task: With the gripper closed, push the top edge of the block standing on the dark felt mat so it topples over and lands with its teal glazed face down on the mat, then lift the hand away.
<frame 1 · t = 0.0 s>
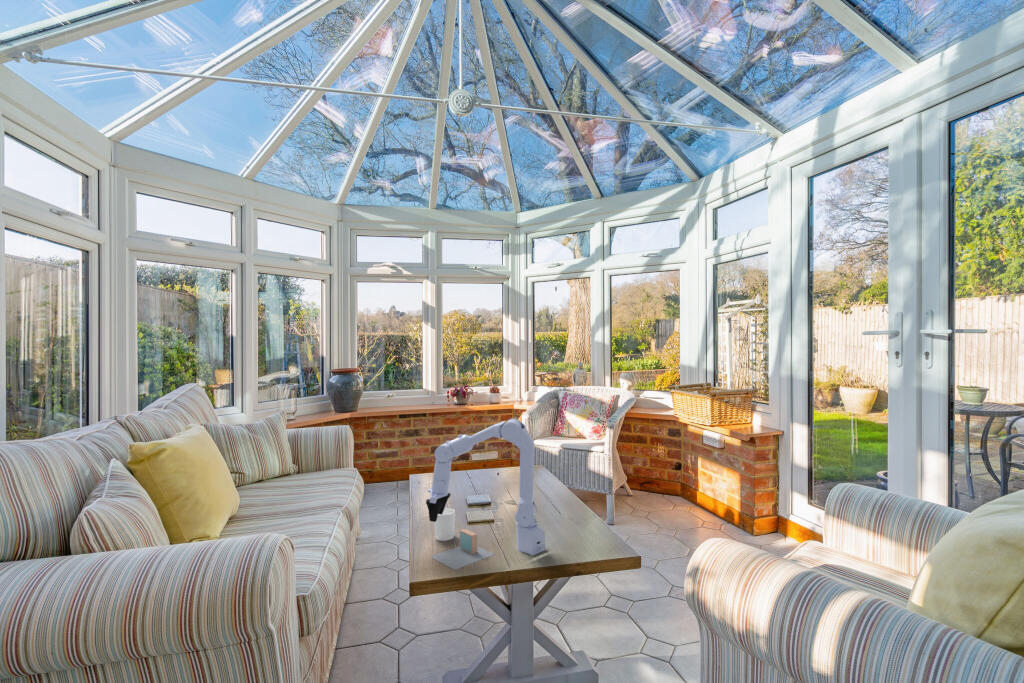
hand: (436, 517, 171), 11 cm above the table, tool pointing down, fingers open, 7 cm apart
white cup: (444, 539, 178), on the table
felt mat: (462, 557, 161), on the table
block: (468, 550, 166), point 1 cm above the table, touching felt mat
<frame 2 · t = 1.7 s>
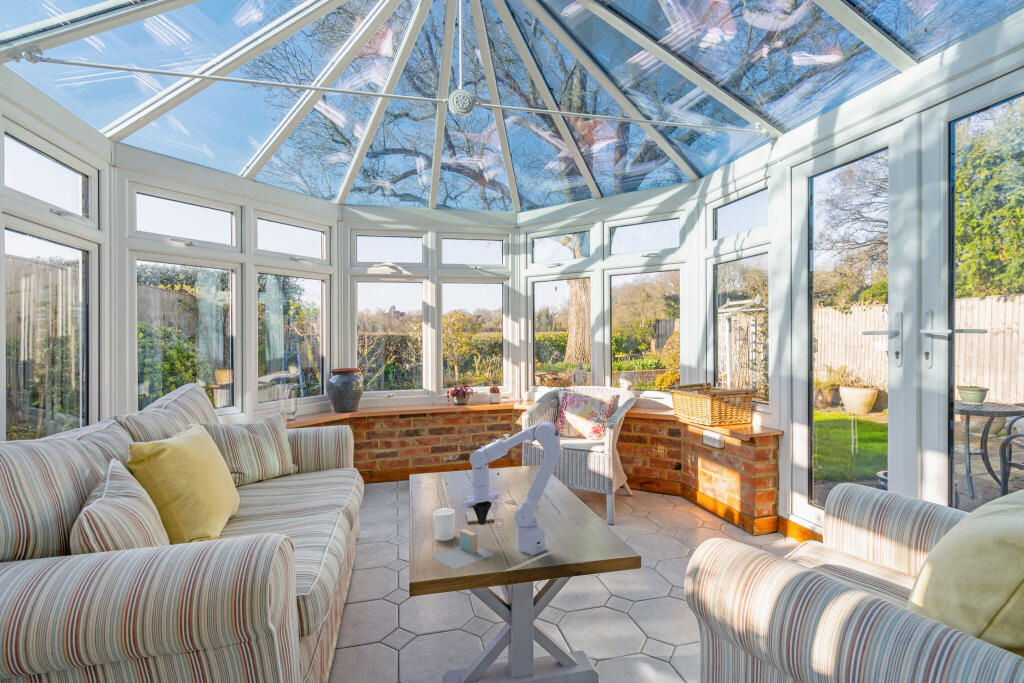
hand: (481, 523, 170), 8 cm above the table, tool pointing down, fingers closed
nothing on the table moved.
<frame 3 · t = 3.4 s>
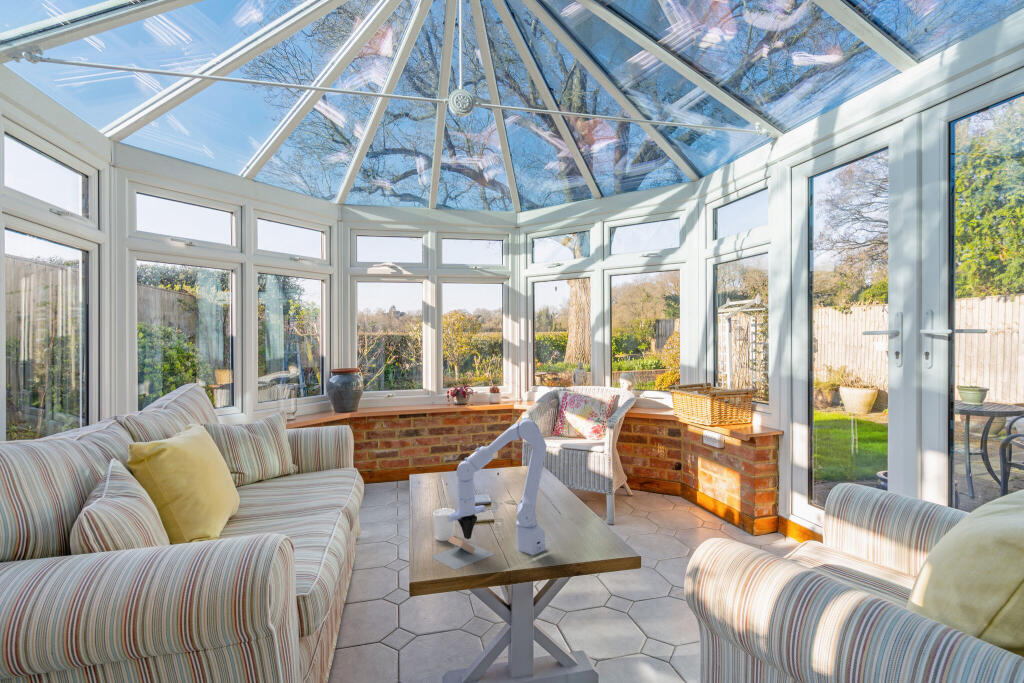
hand: (467, 538, 166), 5 cm above the table, tool pointing down, fingers closed
block: (467, 548, 165), point 2 cm above the table, tilted 53°, touching felt mat
everything else where it was.
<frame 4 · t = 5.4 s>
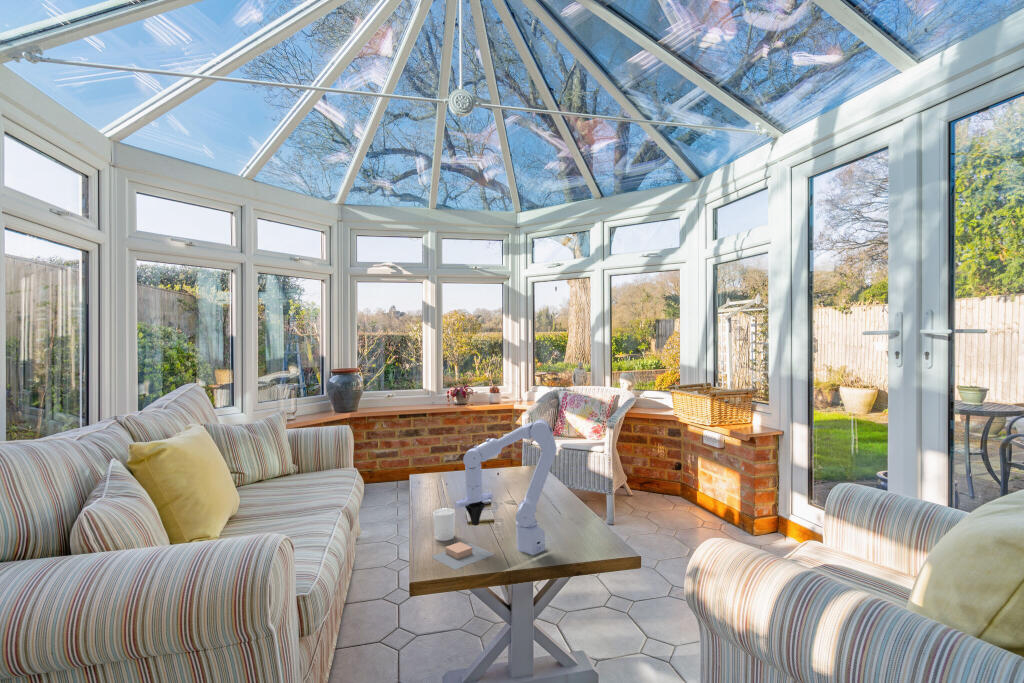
hand: (475, 524, 168), 9 cm above the table, tool pointing down, fingers closed
block: (466, 547, 165), point 2 cm above the table, tilted 90°, touching felt mat
everything else where it was.
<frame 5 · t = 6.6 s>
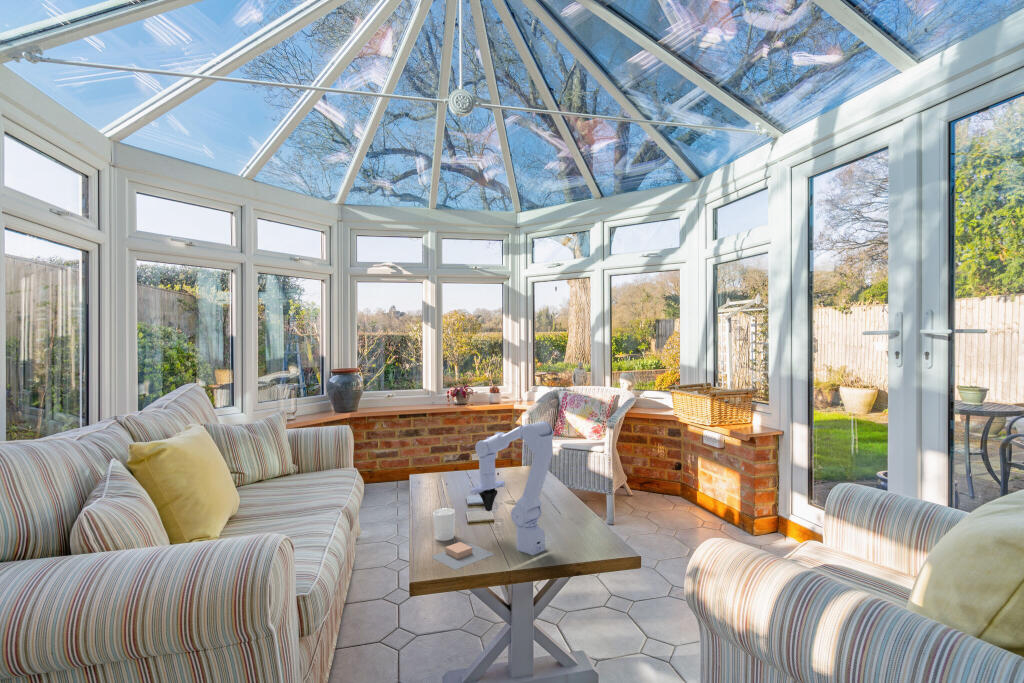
hand: (488, 510, 178), 10 cm above the table, tool pointing down, fingers closed
nothing on the table moved.
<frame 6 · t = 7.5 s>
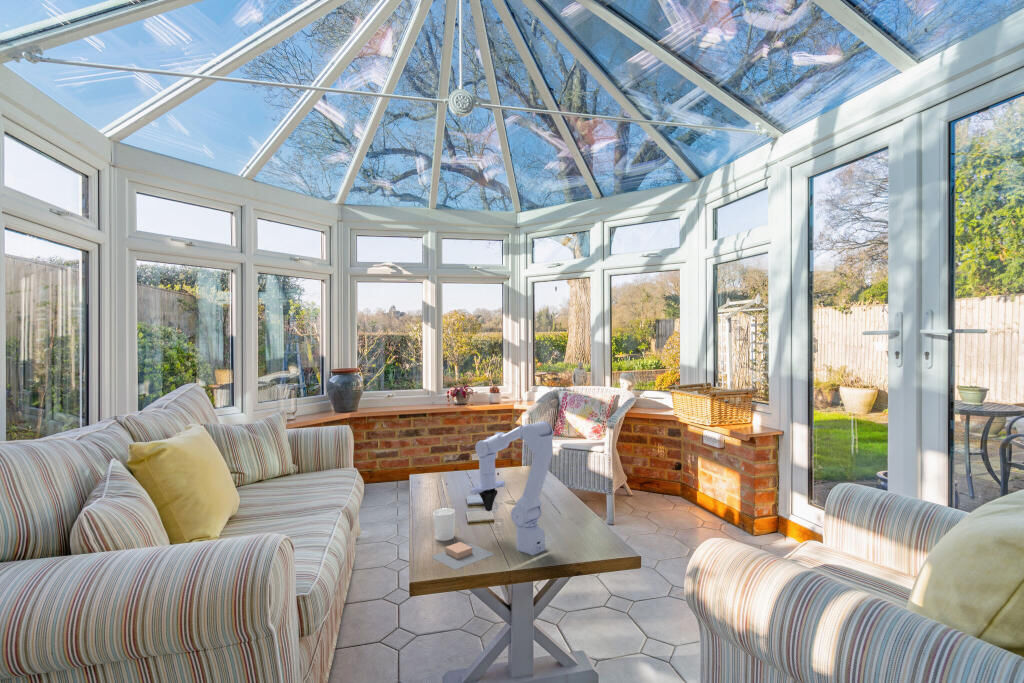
hand: (488, 510, 178), 10 cm above the table, tool pointing down, fingers closed
nothing on the table moved.
at the end: block tilted 90°; block inside the target area on the felt mat (3.6 cm from its centre), point 1.9 cm above the felt mat's base; block touching felt mat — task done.
